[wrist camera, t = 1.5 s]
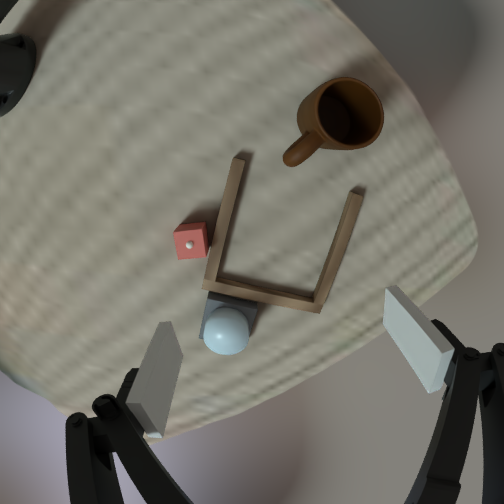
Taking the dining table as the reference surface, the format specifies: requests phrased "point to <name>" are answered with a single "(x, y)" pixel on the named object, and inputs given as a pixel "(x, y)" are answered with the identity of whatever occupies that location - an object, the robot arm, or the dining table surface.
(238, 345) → the dome
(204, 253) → the die
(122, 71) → the dining table surface
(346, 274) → the dining table surface
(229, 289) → the bay
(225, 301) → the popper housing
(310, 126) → the mug
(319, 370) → the dining table surface
